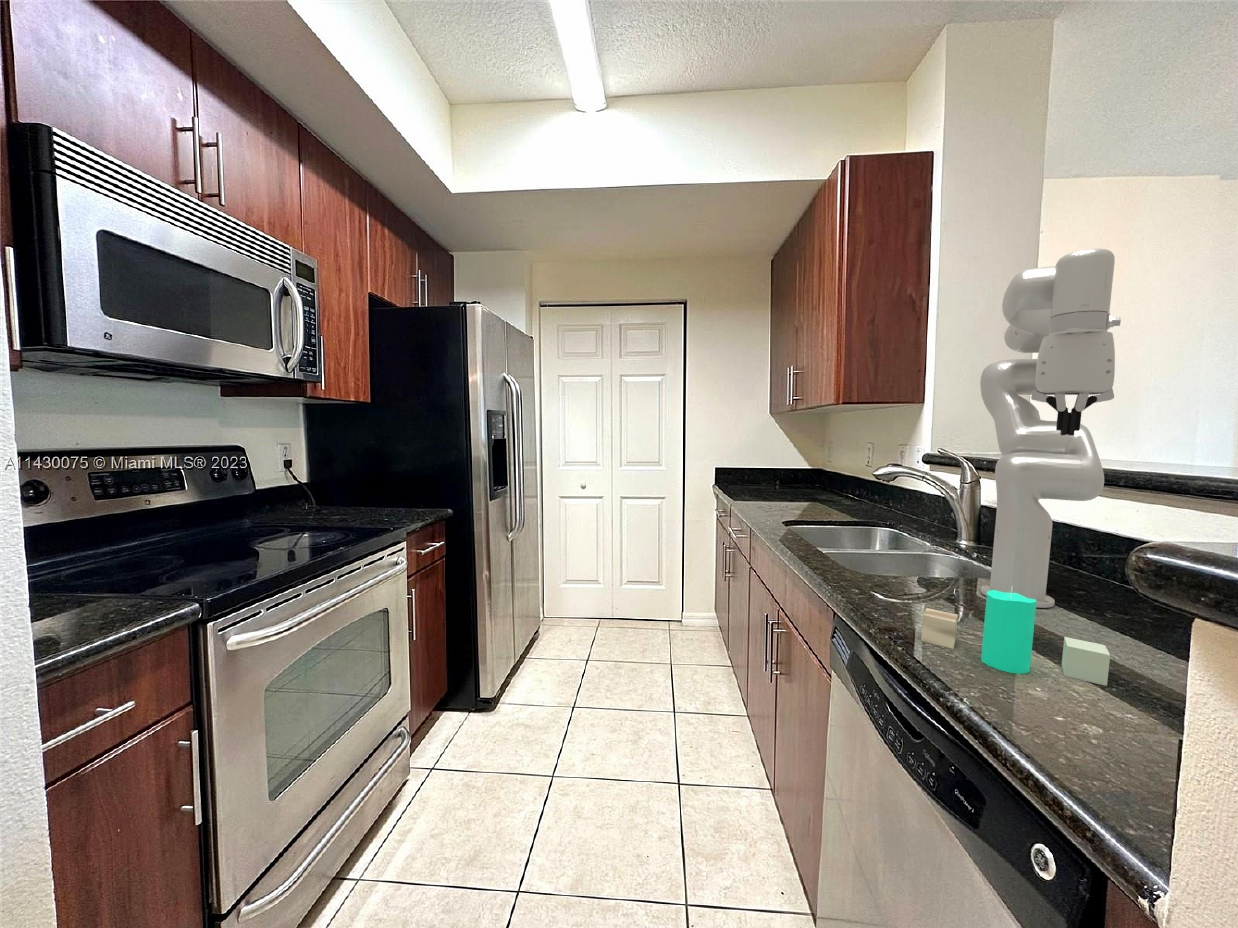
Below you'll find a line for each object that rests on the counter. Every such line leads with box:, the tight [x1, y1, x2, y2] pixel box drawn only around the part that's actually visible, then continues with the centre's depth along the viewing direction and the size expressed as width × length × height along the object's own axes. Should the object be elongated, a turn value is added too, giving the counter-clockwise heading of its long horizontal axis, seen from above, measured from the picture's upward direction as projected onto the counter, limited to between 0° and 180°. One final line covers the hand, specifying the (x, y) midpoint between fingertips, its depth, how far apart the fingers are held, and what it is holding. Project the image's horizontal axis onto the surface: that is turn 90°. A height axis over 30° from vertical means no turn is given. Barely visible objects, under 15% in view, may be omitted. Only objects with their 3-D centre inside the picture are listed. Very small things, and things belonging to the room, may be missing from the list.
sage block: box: [1061, 636, 1111, 687], centre depth 74 cm, size 4×4×4 cm
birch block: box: [920, 607, 959, 650], centre depth 85 cm, size 4×4×4 cm
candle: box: [980, 586, 1037, 675], centre depth 77 cm, size 6×6×12 cm
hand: (1067, 434), depth 89 cm, fingers closed
